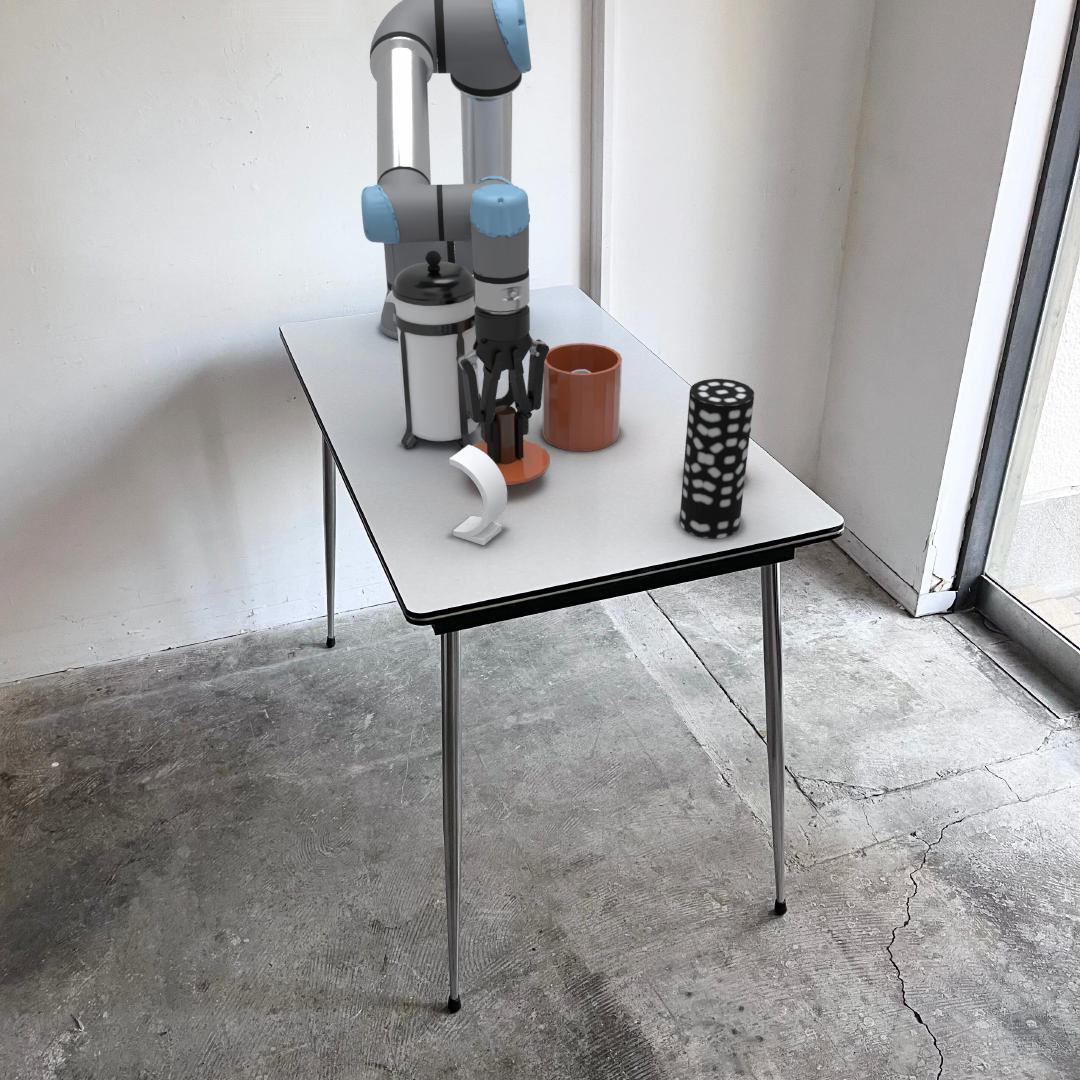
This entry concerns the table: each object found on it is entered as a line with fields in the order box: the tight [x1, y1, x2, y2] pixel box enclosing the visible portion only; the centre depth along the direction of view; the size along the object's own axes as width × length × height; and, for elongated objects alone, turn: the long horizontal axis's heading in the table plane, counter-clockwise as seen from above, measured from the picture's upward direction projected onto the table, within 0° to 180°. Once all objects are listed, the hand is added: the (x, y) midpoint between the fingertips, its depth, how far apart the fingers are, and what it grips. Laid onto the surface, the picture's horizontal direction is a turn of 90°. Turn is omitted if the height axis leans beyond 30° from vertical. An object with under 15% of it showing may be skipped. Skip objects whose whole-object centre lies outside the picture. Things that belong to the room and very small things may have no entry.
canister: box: [541, 342, 623, 452], centre depth 172 cm, size 12×12×13 cm
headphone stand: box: [448, 445, 508, 546], centre depth 147 cm, size 5×6×12 cm
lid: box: [473, 405, 550, 486], centre depth 159 cm, size 13×13×9 cm
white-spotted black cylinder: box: [679, 378, 755, 540], centre depth 147 cm, size 8×8×20 cm
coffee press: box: [384, 251, 515, 450], centre depth 167 cm, size 17×16×30 cm
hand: (505, 456), depth 160 cm, fingers closed on lid, 3 cm apart
